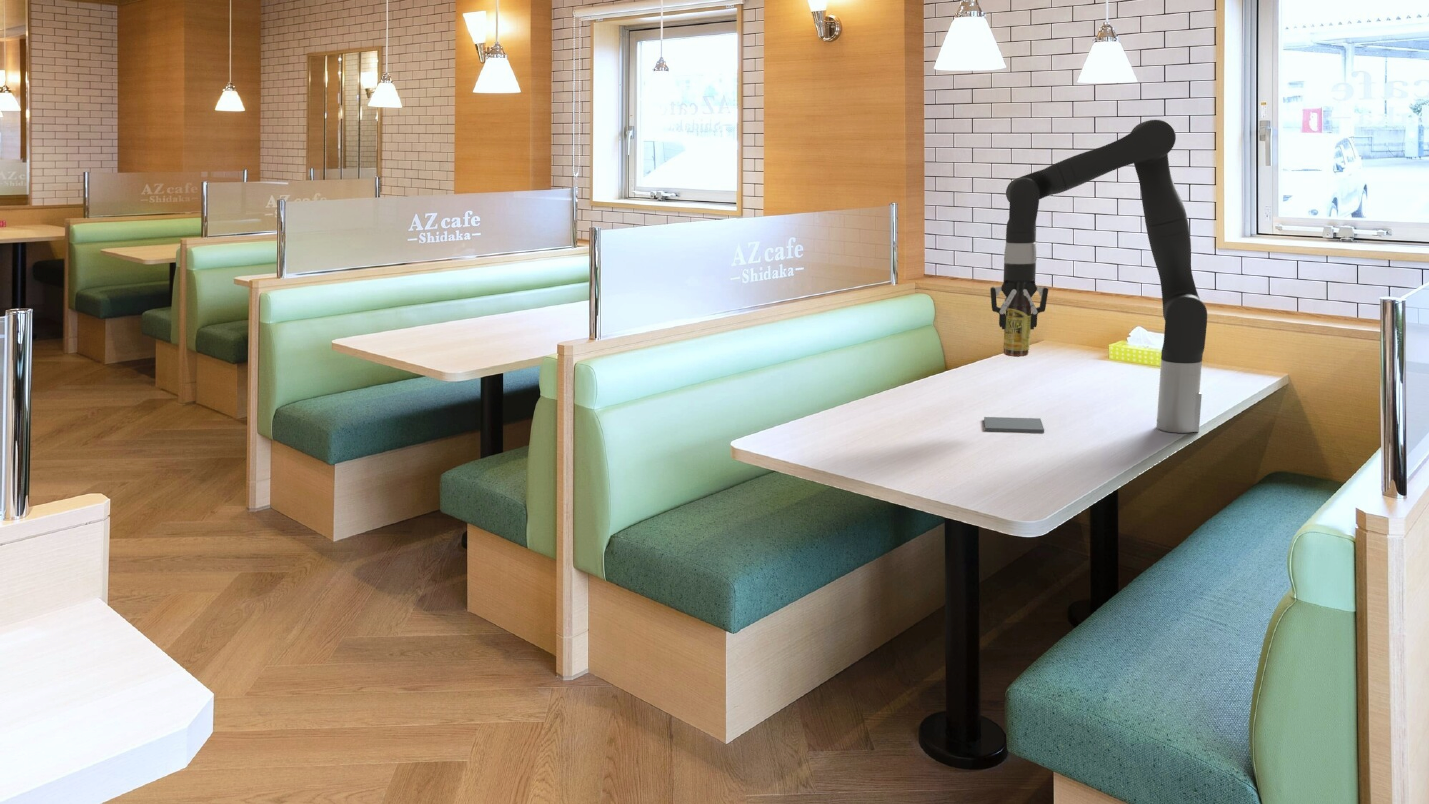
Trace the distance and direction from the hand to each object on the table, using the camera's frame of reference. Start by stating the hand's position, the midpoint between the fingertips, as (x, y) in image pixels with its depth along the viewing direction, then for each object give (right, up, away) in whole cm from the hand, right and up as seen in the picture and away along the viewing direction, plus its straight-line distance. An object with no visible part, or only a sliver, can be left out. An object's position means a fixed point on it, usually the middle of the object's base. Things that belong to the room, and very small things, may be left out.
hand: (1017, 328), depth 271 cm
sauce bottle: (0, -7, +1) cm, 7 cm away
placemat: (0, -24, +5) cm, 25 cm away
